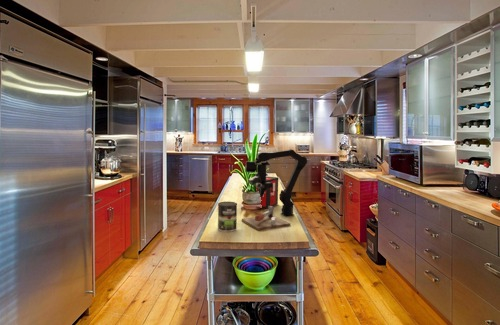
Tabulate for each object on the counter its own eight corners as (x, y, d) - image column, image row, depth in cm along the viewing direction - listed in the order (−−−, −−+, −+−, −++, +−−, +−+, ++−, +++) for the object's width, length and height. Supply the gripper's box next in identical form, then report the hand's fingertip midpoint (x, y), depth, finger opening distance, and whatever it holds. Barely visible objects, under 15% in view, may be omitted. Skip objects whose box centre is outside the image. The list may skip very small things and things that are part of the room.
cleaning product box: (266, 203, 232) (267, 176, 230) (277, 204, 227) (278, 177, 225) (255, 207, 218) (256, 179, 216) (266, 209, 213) (267, 180, 211)
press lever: (269, 215, 192) (269, 205, 192) (273, 216, 191) (273, 206, 190) (254, 223, 175) (254, 212, 174) (259, 224, 174) (259, 213, 173)
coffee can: (238, 231, 166) (239, 205, 165) (219, 232, 163) (219, 206, 162) (234, 225, 176) (234, 200, 175) (216, 226, 173) (216, 201, 172)
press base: (272, 217, 194) (272, 214, 194) (290, 225, 177) (290, 223, 177) (241, 221, 185) (241, 218, 185) (257, 230, 167) (257, 228, 167)
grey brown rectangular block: (271, 222, 178) (271, 217, 178) (275, 222, 178) (275, 217, 178) (271, 225, 172) (271, 220, 172) (274, 225, 172) (274, 220, 172)
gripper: (243, 171, 199) (243, 195, 201) (257, 174, 183) (257, 201, 184) (258, 170, 204) (258, 193, 206) (273, 173, 188) (273, 199, 190)
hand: (261, 196), depth 196 cm, fingers closed
